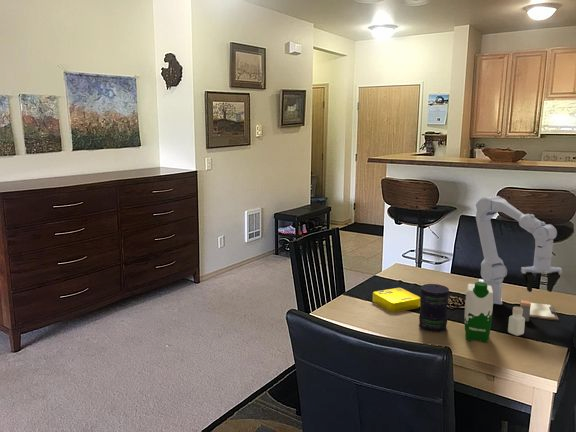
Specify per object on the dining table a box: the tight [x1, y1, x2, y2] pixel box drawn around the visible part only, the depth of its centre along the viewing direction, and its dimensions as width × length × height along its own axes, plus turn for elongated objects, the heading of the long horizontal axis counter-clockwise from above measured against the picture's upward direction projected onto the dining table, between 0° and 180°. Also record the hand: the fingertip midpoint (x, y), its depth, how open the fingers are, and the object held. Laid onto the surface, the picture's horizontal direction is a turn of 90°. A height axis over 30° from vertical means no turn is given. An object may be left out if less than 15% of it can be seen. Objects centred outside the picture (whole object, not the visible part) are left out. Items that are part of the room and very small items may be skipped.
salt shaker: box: [507, 306, 526, 337], centre depth 168 cm, size 4×4×10 cm
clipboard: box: [519, 300, 560, 322], centre depth 189 cm, size 12×16×2 cm
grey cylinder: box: [520, 299, 531, 322], centre depth 180 cm, size 3×3×7 cm
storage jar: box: [418, 283, 450, 334], centre depth 173 cm, size 10×10×15 cm
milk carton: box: [463, 281, 494, 343], centre depth 164 cm, size 9×9×20 cm
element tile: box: [372, 287, 421, 313], centre depth 197 cm, size 15×15×5 cm
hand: (539, 291), depth 182 cm, fingers open, 7 cm apart
